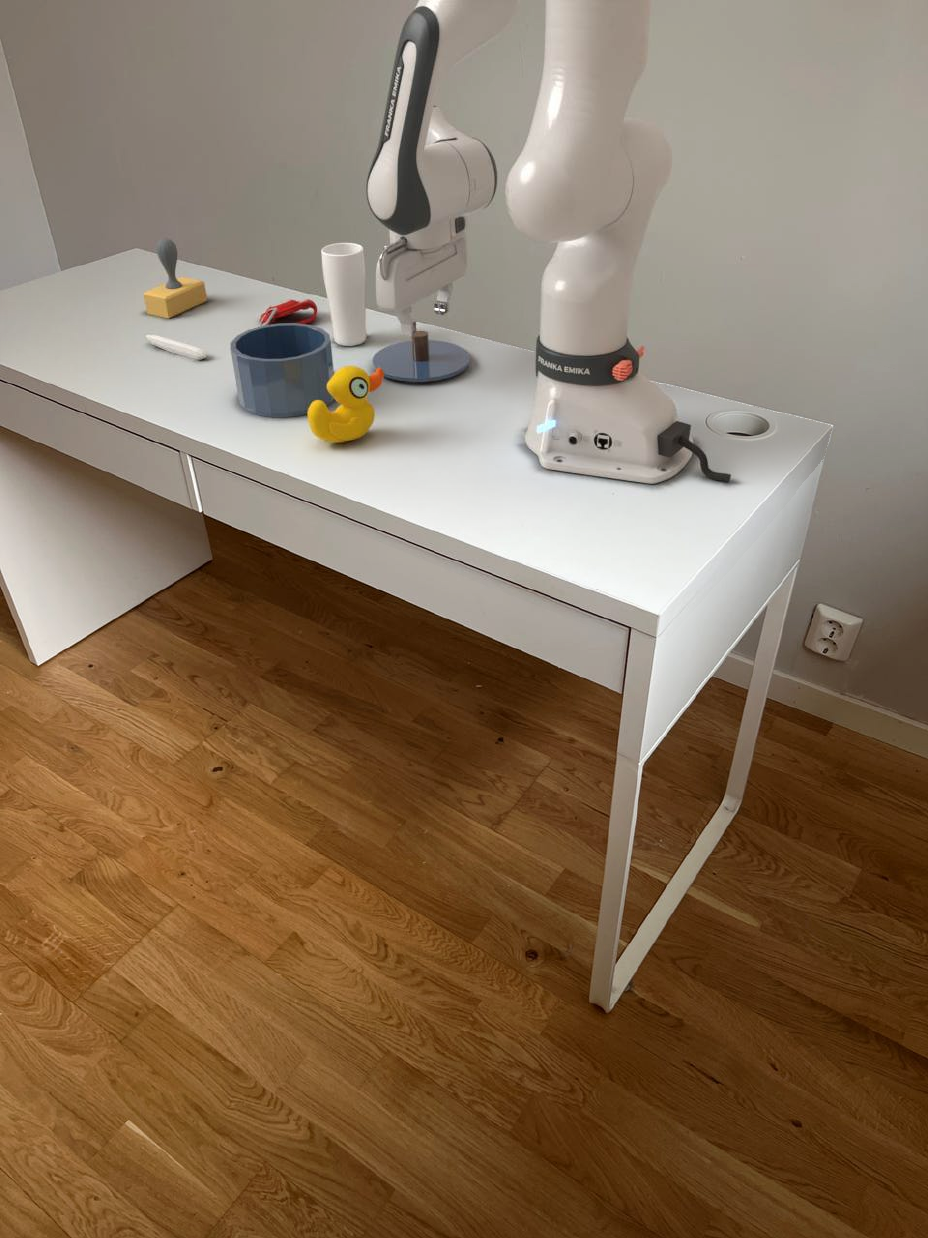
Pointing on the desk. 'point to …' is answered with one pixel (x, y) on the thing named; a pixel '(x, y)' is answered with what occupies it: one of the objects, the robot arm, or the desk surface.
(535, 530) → the desk surface
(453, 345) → the lid
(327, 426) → the duckling
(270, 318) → the tracker holder
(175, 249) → the rubber stamp
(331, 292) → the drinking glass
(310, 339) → the pot
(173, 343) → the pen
